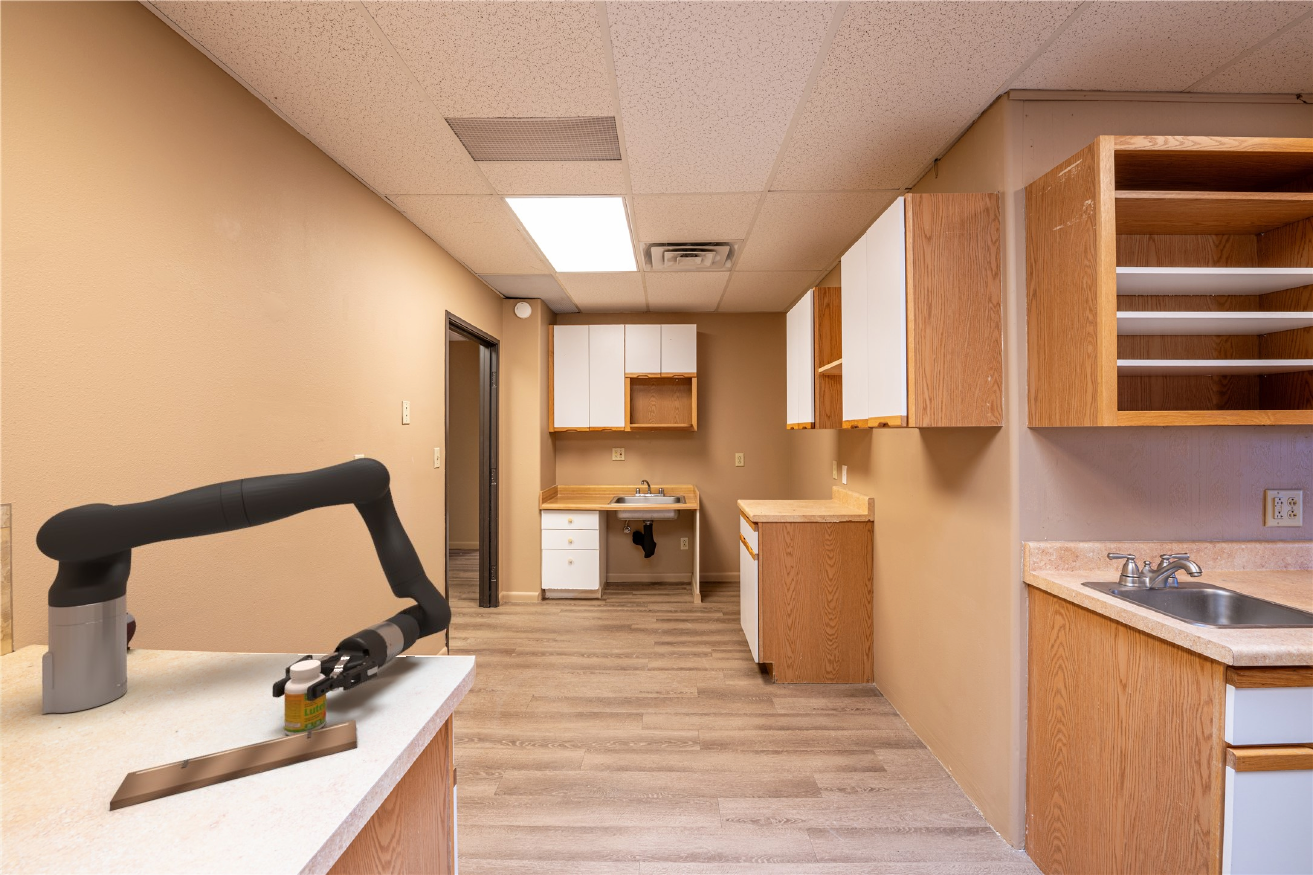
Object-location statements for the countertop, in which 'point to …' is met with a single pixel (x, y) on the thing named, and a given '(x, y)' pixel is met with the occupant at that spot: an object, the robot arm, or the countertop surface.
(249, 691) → the countertop surface
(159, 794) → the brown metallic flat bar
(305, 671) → the supplement bottle
